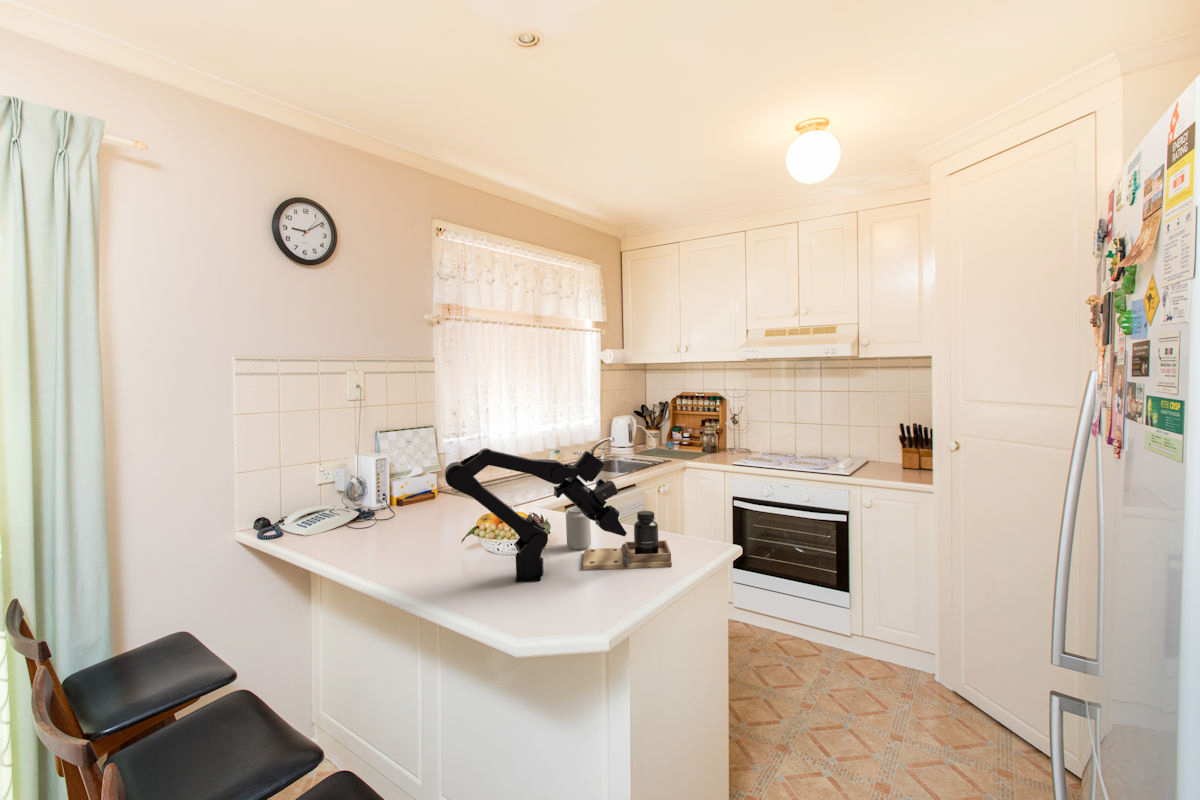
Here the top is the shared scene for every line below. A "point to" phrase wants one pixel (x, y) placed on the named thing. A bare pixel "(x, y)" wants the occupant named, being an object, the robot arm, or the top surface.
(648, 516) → the supplement bottle
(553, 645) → the top surface
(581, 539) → the can
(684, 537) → the top surface
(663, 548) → the hinge jig
